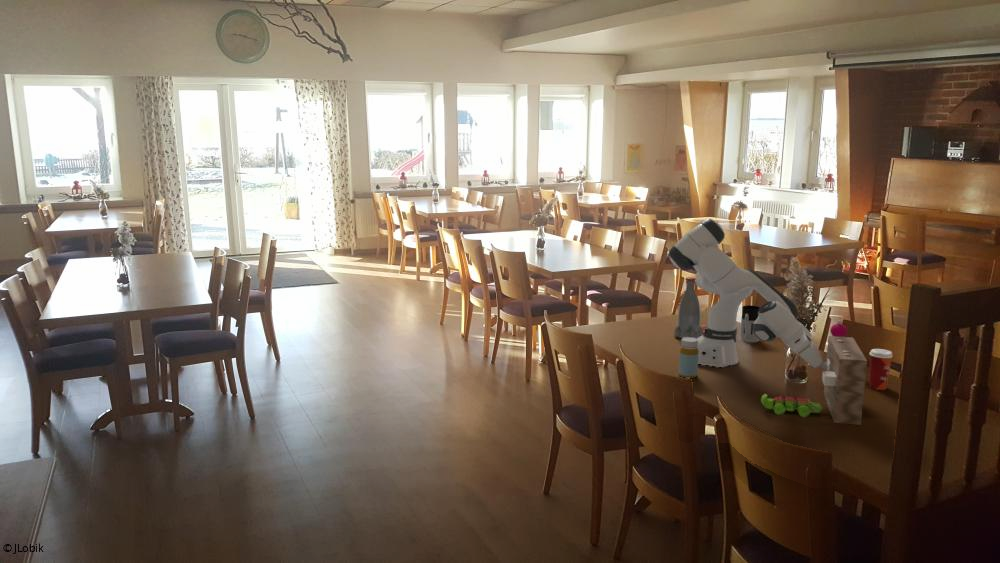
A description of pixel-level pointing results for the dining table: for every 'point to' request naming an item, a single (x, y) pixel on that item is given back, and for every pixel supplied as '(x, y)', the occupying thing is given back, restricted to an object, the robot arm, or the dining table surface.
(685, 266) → the robot arm
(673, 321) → the dining table surface
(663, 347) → the dining table surface
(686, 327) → the bottle
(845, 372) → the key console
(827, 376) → the off-white rectangular block
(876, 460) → the dining table surface
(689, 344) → the bottle
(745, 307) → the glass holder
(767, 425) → the dining table surface
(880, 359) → the paper cup
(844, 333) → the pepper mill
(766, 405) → the toy crocodile
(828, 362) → the grey block
